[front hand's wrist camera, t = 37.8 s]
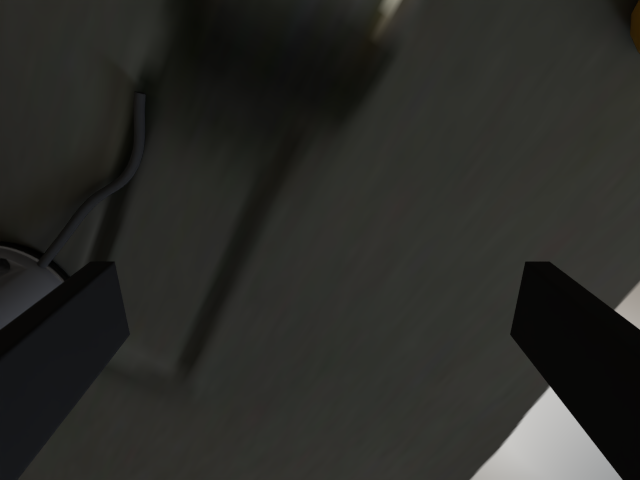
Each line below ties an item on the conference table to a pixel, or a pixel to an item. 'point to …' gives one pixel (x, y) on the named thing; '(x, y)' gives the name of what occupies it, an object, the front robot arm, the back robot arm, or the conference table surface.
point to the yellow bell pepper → (636, 26)
